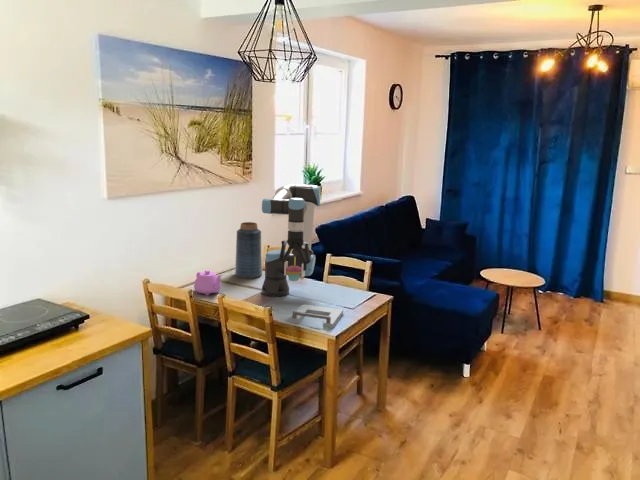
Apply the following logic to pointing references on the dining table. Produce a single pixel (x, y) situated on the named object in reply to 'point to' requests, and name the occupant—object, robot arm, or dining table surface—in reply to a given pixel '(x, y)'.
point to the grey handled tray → (317, 314)
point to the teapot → (207, 282)
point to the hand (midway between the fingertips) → (294, 275)
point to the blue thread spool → (248, 251)
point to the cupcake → (294, 272)
